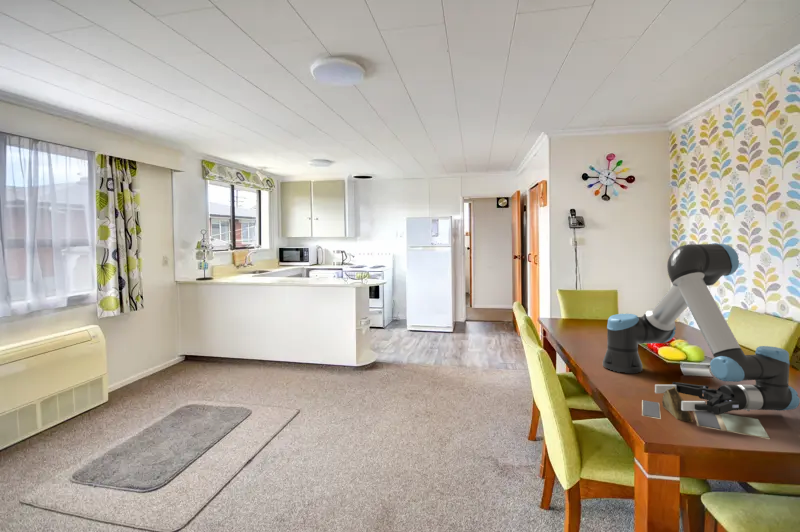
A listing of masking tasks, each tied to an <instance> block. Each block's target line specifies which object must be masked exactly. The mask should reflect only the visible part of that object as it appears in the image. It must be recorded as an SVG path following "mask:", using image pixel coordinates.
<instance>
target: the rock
mask: <svg viewBox="0 0 800 532" xmlns="http://www.w3.org/2000/svg"><path fill="white" fill-rule="evenodd" d="M681 401H685V400H684V399H683V398H682V396H681V395H680V393H678V392H677V390H676V389H675V387H673V388H671V389H669V390H666V392H665V393H663V394H662V407H663V408H664V409H665V410H666V411H667V412H669V413H670V415H672V416H673V417H674V418H675V419H676V420H680V421H683V422H689V423H694V420H693V417H692V415H691V413H690V412H691V411H682V410H681Z"/></svg>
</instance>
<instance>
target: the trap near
mask: <svg viewBox="0 0 800 532" xmlns="http://www.w3.org/2000/svg"><path fill="white" fill-rule="evenodd" d="M642 400H643V415H645V416H644V417H646V416H650V417H649V418H652V417H656V418H655V419H657V418H660V415H661V412H660V413H659V404H660V402H657V401H651V400H644V399H642Z"/></svg>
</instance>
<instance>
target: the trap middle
mask: <svg viewBox="0 0 800 532" xmlns="http://www.w3.org/2000/svg"><path fill="white" fill-rule="evenodd" d="M695 413H696V416H697V420H698V423H699V426H698V427H700V426H705V427H704V428H706V427H710V428H709V429H711V428H716V429H715V430H717V429H721V428H720V426H719V423H718V421H717V418H716V416H715V414H714V412H708V411H695Z"/></svg>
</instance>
